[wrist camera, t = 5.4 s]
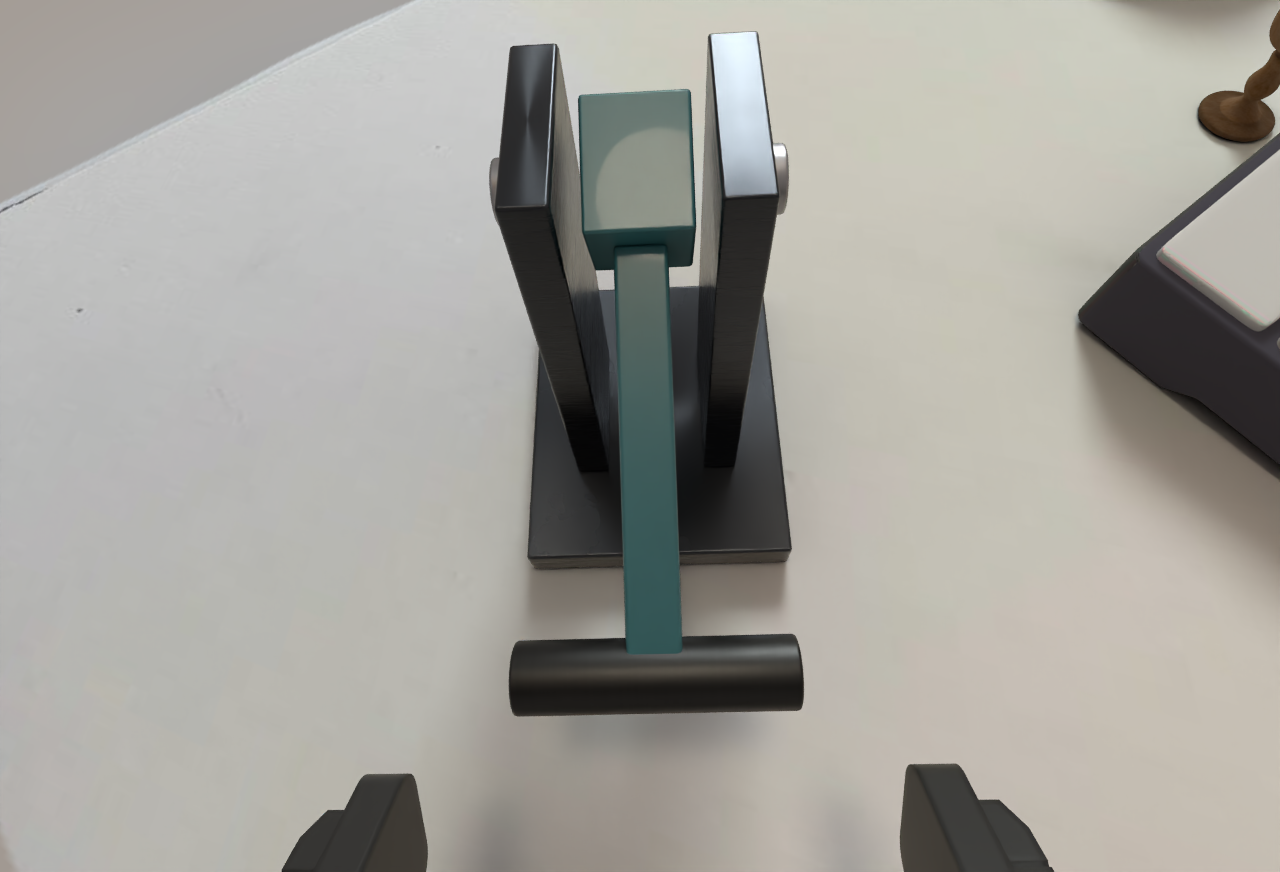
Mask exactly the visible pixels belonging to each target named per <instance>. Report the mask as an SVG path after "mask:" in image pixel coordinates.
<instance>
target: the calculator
mask: <svg viewBox="0 0 1280 872" xmlns="http://www.w3.org/2000/svg"><path fill="white" fill-rule="evenodd" d="M1078 317H1079V320H1080V321H1081V322H1082V323H1083V324H1084V325H1085V326H1086V327H1087V328H1088V329H1090V330H1091V331H1092V332H1093V333H1095V334H1096V335H1097V336H1098V337H1099V338H1101V339H1102V340H1103V341H1104V342H1106V343H1107V344H1108V345H1109V346H1111V347H1112V348H1113V349H1114V350H1116V351H1117V352H1118V353H1119V354H1120V355H1122V356H1123V357H1124V358H1125V359H1127V360H1128V361H1129V362H1130V363H1132V364H1133V365H1134V366H1135V367H1136V368H1138V369H1139V370H1140V371H1141V372H1143V373H1144V374H1145V375H1146V376H1148V377H1149V378H1150V379H1151V380H1153V381H1154V382H1155V383H1156V384H1157V385H1159V386H1160V387H1162V388H1165V389H1168V390H1172V391H1175V392H1178V393H1181V394H1184V395H1187V396H1191V397H1193V398H1196V399H1198V400H1199V401H1200V402H1202V403H1203V404H1204V405H1206V406H1207V407H1208V408H1209V409H1211V410H1212V411H1213V412H1214V413H1216V414H1217V415H1218V416H1219V417H1221V418H1222V419H1223V420H1224V421H1226V422H1227V423H1228V424H1229V425H1231V426H1232V427H1233V428H1234V429H1236V430H1237V431H1238V432H1239V433H1241V434H1242V435H1243V436H1244V437H1246V438H1247V439H1248V440H1249V441H1251V442H1252V443H1253V444H1254V445H1256V446H1257V447H1258V448H1259V449H1261V450H1262V451H1263V452H1264V453H1266V454H1267V455H1268V456H1269V457H1271V458H1272V459H1273V460H1274V461H1276V462H1277V463H1278V464H1279V465H1280V133H1279V134H1278V135H1277V136H1276V137H1274V138H1273V139H1272V140H1271V141H1269V142H1268V143H1267V144H1266V145H1265V146H1263V147H1262V148H1261V149H1260V150H1258V151H1257V152H1256V153H1255V154H1253V155H1252V156H1251V157H1250V158H1249V159H1247V160H1246V161H1245V162H1244V163H1242V164H1241V165H1240V166H1239V167H1237V168H1236V169H1235V170H1234V171H1233V172H1231V173H1230V174H1229V175H1228V176H1226V177H1225V178H1224V179H1223V180H1221V181H1220V182H1219V183H1218V184H1217V185H1215V186H1214V187H1213V188H1212V189H1210V190H1209V191H1208V192H1207V193H1206V194H1204V195H1203V196H1202V197H1201V198H1199V199H1198V200H1197V201H1196V202H1194V203H1193V204H1192V205H1191V206H1190V207H1188V208H1187V209H1186V210H1185V211H1183V212H1182V213H1181V214H1180V215H1178V216H1177V217H1176V218H1175V219H1174V220H1172V221H1171V222H1170V223H1169V224H1167V225H1166V226H1165V227H1164V228H1163V229H1161V230H1160V231H1159V232H1158V233H1156V234H1155V235H1154V236H1153V237H1151V238H1150V239H1149V240H1148V241H1147V242H1145V243H1144V244H1143V245H1142V246H1141V247H1139V248H1138V249H1137V250H1136V251H1135V252H1134V253H1133V254H1132V255H1131V256H1130V257H1129V258H1128V259H1127V260H1126V261H1125V262H1124V263H1123V264H1122V266H1121V267H1120V268H1119V269H1118V270H1117V271H1116V272H1115V273H1114V274H1113V275H1112V276H1111V277H1110V278H1109V279H1108V280H1107V281H1106V282H1105V283H1104V284H1103V285H1102V286H1101V287H1100V288H1099V289H1098V290H1097V292H1096V293H1095V294H1094V295H1093V296H1092V297H1091V298H1090V299H1089V300H1088V301H1087V302H1086V303H1085V304H1084V305H1083V306H1082V308H1081V309H1080V310H1079V313H1078Z"/></svg>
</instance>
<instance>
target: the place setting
mask: <svg viewBox="0 0 1280 872" xmlns="http://www.w3.org/2000/svg"><path fill="white" fill-rule="evenodd" d="M1269 36H1270V41H1271V44H1272V45H1273V47H1274V48H1275V49H1276V50H1275V51H1274V52H1273V53H1272V55H1271V57H1270V59H1269V61H1268V62H1267V63H1266V65H1265V66H1263V67H1262V68H1261V69H1259V70H1258V71H1256V72H1255V73H1253V74H1252V75H1251V76H1250V77H1249V78H1248V80H1247V82H1246V84H1245V88H1244V93H1242V92H1237V91H1220V92H1216V93H1213V94H1210V95H1208V96H1207V97H1206V98H1204V99H1203V100H1202V102H1201V103H1200V106H1199V109H1198V114H1199V118H1200V120H1201V122H1202V123H1203V124H1204V125H1205V126H1206V127H1207V128H1208V129H1209V130H1210V131H1212V132H1213V133H1215V134H1217V135H1219V136H1221V137H1223V138H1226V139H1229V140H1234V141H1242V142H1249V141H1255V140H1259V139H1261V138H1263V137H1265V136H1266V135H1268V134H1269V133H1270V132H1271V131H1272V129H1273V128H1274V125H1275V117H1274V114H1273V112H1272V111H1271V109H1270V108H1269V107H1268V106H1267V105H1266V104H1265V103H1264V102H1262V101H1261V99H1264V98H1266V97H1268V96H1269V95H1271V94H1272V93H1274V92H1275V91H1276V90H1277V88H1278V87H1279V85H1280V10H1279V11H1278V13H1277V15H1276V16H1275V18H1274V20H1273V23H1272V25H1271V28H1270V35H1269Z"/></svg>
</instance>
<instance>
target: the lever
mask: <svg viewBox="0 0 1280 872" xmlns="http://www.w3.org/2000/svg"><path fill="white" fill-rule="evenodd" d="M578 112H579V148H580V184H581V220H582V234H583V236H584V239H585V242H586V245H587V248H588V251H589V254H590V257H591V260H592V262H593V265H594V268H595V270H614V283H615V315H616V347H617V379H618V411H619V443H620V475H621V508H622V540H623V572H624V604H625V636H626V638H607V639H567V640H527V641H518V642H516V643H515V645H514V648H513V651H512V655H511V660H510V668H509V699H510V705H511V709H512V712H513V714H514V715H515V716H566V715H614V714H662V713H710V712H758V711H798V710H801V708H802V705H803V699H804V677H803V666H802V658H801V652H800V648H799V644H798V641H797V638H796V636H795V635H793V634H767V635H727V636H687V637H682V617H681V590H680V563H679V536H678V508H677V481H676V454H675V427H674V400H673V373H672V346H671V318H670V291H669V267H684V266H691V265H692V263H693V254H694V243H695V233H696V208H695V183H694V158H693V133H692V108H691V92H690V90H688V89H679V90H661V91H643V92H625V93H607V94H589V95H580V96H579V98H578Z"/></svg>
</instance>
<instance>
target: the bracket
mask: <svg viewBox="0 0 1280 872" xmlns="http://www.w3.org/2000/svg"><path fill="white" fill-rule="evenodd" d="M489 185H490V196H491V203H492V208H493V212H494V216H495V219H496V221H497V223H498V225H499V227H500V230H501V233H502V236H503V239H504V242H505V245H506V248H507V251H508V254H509V257H510V261H511V264H512V267H513V270H514V273H515V276H516V279H517V282H518V285H519V288H520V291H521V295H522V298H523V301H524V304H525V307H526V310H527V313H528V316H529V319H530V322H531V325H532V329H533V332H534V335H535V338H536V341H537V344H538V347H539V359H538V377H537V395H536V412H535V430H534V448H533V466H532V484H531V502H530V520H529V538H528V556H527V557H528V559H529V561H530V562H531V564H532V565H533V567H534V568H536V569H544V568H579V567H613V566H623V540H622V508H621V475H620V443H619V411H618V379H617V347H616V315H615V290H599V288H598V282H597V276H596V270H595V268H594V265H593V262H592V260H591V257H590V254H589V251H588V248H587V245H586V242H585V239H584V236H583V234H582V220H581V184H580V174H579V168H578V162H577V156H576V150H575V143H574V137H573V131H572V125H571V119H570V113H569V107H568V101H567V95H566V89H565V83H564V77H563V71H562V65H561V59H560V53H559V48H558V46H557V44H540V45H523V46H513V47H511V48H510V52H509V63H508V73H507V83H506V93H505V103H504V113H503V123H502V134H501V144H500V154H499V158H494V159H493V160H492V161H491V165H490V172H489ZM788 186H789V164H788V154H787V149H786V146H785V144H783V143H773V140H772V132H771V125H770V117H769V110H768V102H767V95H766V88H765V80H764V73H763V65H762V58H761V50H760V43H759V36H758V32H756V31H750V32H733V33H716V34H709V36H708V52H707V80H706V108H705V136H704V164H703V192H702V220H701V248H700V276H699V286H688V287H669V291H670V318H671V346H672V373H673V400H674V427H675V454H676V481H677V508H678V536H679V563H680V565H682V564H717V563H751V562H785V561H787V559H788V557H789V554H790V552H791V550H792V546H791V537H790V528H789V520H788V511H787V502H786V493H785V484H784V475H783V466H782V457H781V448H780V439H779V430H778V421H777V412H776V403H775V394H774V385H773V377H772V368H771V359H770V350H769V341H768V332H767V323H766V314H765V305H764V296H763V295H764V289H765V283H766V277H767V271H768V265H769V259H770V253H771V247H772V241H773V235H774V229H775V223H776V217H777V215H780V214H783V213H784V211H785V208H786V204H787V198H788Z"/></svg>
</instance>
